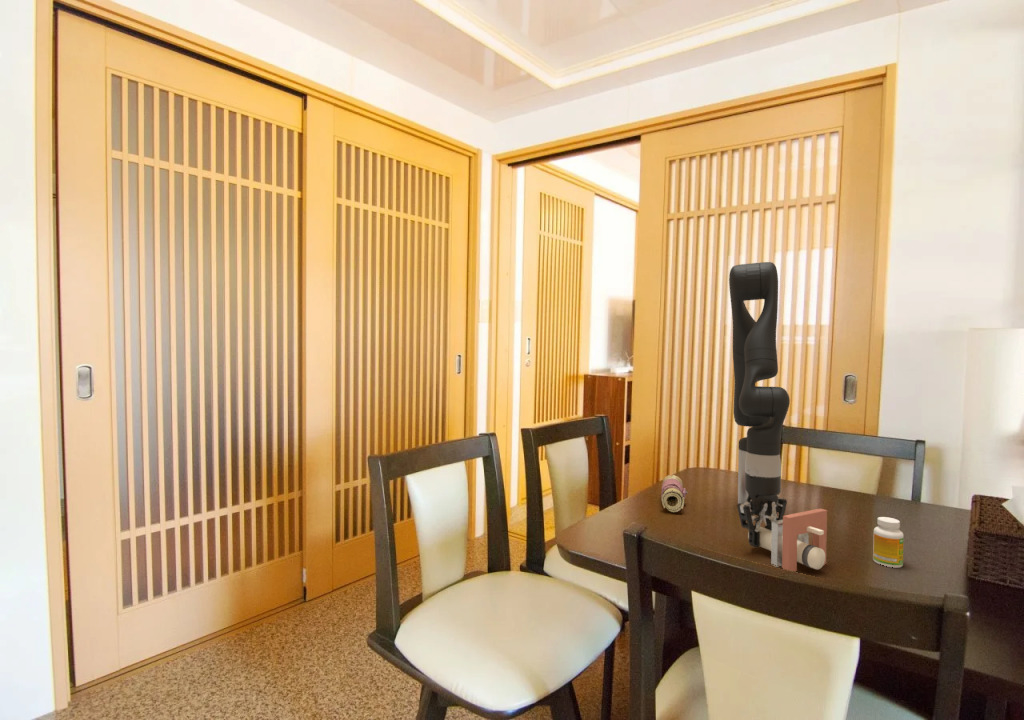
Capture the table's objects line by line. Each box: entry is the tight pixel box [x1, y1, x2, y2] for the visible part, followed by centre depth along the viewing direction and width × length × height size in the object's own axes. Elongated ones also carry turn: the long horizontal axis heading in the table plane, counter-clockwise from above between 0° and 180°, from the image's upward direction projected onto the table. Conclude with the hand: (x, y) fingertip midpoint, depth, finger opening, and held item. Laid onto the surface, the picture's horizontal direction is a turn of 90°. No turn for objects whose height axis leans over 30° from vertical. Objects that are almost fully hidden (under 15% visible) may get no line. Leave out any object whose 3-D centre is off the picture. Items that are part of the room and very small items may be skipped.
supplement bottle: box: [872, 516, 905, 569], centre depth 115 cm, size 5×5×10 cm
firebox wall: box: [781, 507, 828, 571], centre depth 111 cm, size 12×4×12 cm, turn 115°
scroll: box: [660, 474, 689, 513], centre depth 158 cm, size 8×8×20 cm
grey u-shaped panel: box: [770, 520, 810, 568], centre depth 116 cm, size 10×2×10 cm, turn 115°
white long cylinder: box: [747, 525, 825, 570], centre depth 117 cm, size 16×5×5 cm, turn 24°
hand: (761, 544), depth 122 cm, fingers closed on white long cylinder, 4 cm apart
